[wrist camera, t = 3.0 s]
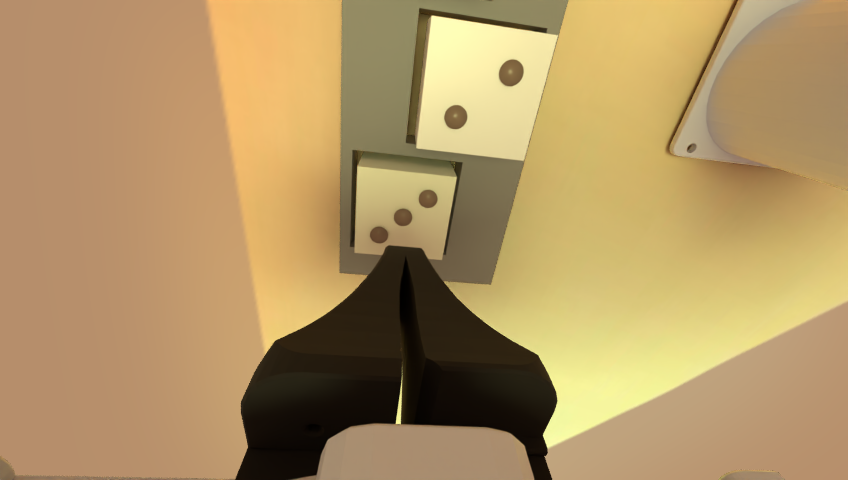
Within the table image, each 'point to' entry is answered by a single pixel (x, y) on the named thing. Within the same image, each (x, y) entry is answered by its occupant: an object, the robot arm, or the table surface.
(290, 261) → the table surface
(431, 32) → the tile two
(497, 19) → the tile board
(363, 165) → the tile three
